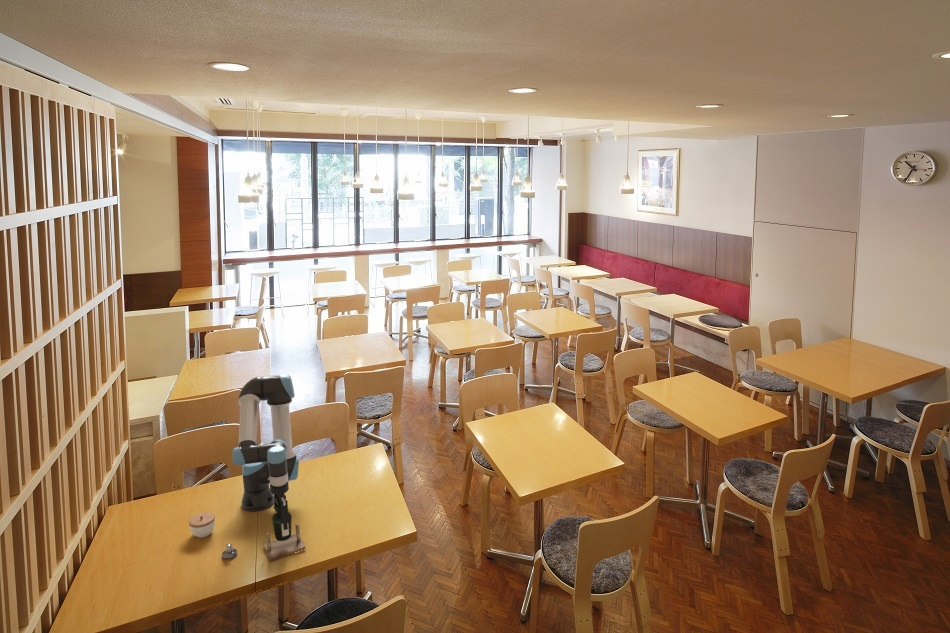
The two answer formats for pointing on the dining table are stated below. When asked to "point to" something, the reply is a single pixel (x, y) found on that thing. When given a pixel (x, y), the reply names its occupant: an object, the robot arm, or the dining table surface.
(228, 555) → the ring nut stud
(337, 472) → the dining table surface
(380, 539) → the dining table surface
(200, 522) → the lidded jar
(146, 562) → the dining table surface
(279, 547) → the rack
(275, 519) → the potion bottle
